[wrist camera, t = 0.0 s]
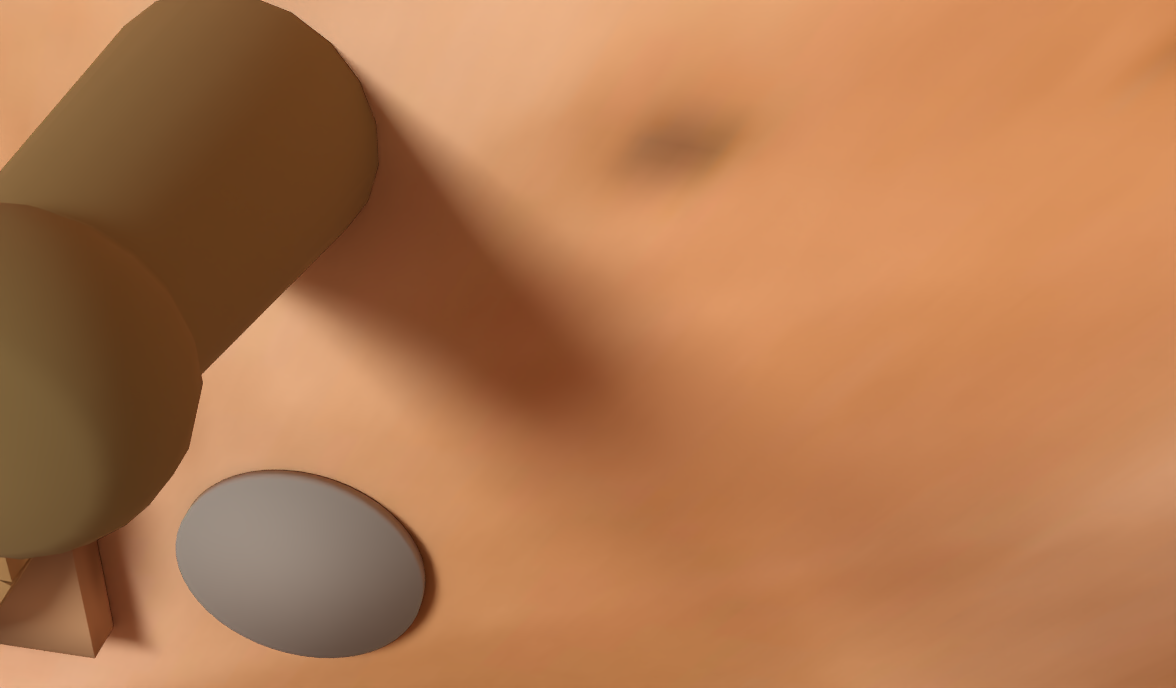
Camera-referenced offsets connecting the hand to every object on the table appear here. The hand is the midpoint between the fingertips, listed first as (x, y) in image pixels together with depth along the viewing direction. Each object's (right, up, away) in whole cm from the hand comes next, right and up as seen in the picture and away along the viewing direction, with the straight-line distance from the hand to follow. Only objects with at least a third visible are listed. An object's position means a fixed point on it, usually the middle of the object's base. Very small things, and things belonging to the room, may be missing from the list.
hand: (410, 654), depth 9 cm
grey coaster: (-7, -4, +21) cm, 22 cm away
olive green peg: (-6, +7, +14) cm, 17 cm away
